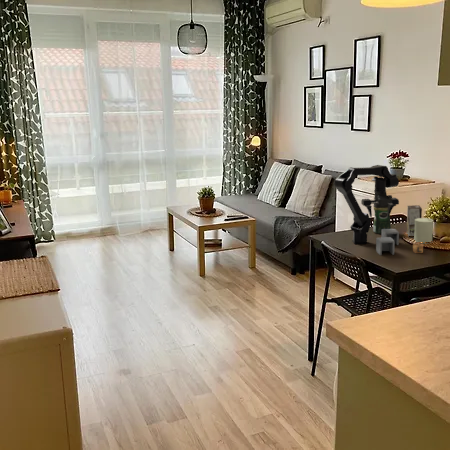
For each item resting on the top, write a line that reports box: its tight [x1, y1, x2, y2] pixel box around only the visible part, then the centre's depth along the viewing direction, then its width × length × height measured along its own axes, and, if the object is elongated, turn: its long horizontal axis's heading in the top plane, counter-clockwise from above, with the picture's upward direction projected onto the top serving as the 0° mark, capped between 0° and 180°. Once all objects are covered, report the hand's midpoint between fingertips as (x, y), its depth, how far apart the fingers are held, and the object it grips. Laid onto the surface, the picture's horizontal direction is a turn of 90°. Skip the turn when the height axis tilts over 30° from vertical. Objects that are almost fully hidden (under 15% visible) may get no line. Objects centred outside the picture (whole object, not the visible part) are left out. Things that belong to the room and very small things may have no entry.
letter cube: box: [412, 243, 424, 254], centre depth 253 cm, size 4×4×4 cm
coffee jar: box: [372, 201, 392, 234], centre depth 290 cm, size 10×8×19 cm
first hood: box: [375, 237, 396, 256], centre depth 254 cm, size 7×7×7 cm
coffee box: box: [406, 204, 423, 237], centre depth 281 cm, size 9×6×16 cm
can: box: [413, 217, 434, 244], centre depth 270 cm, size 9×9×12 cm
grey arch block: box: [380, 228, 400, 246], centre depth 269 cm, size 7×7×7 cm
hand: (379, 217), depth 277 cm, fingers open, 9 cm apart
